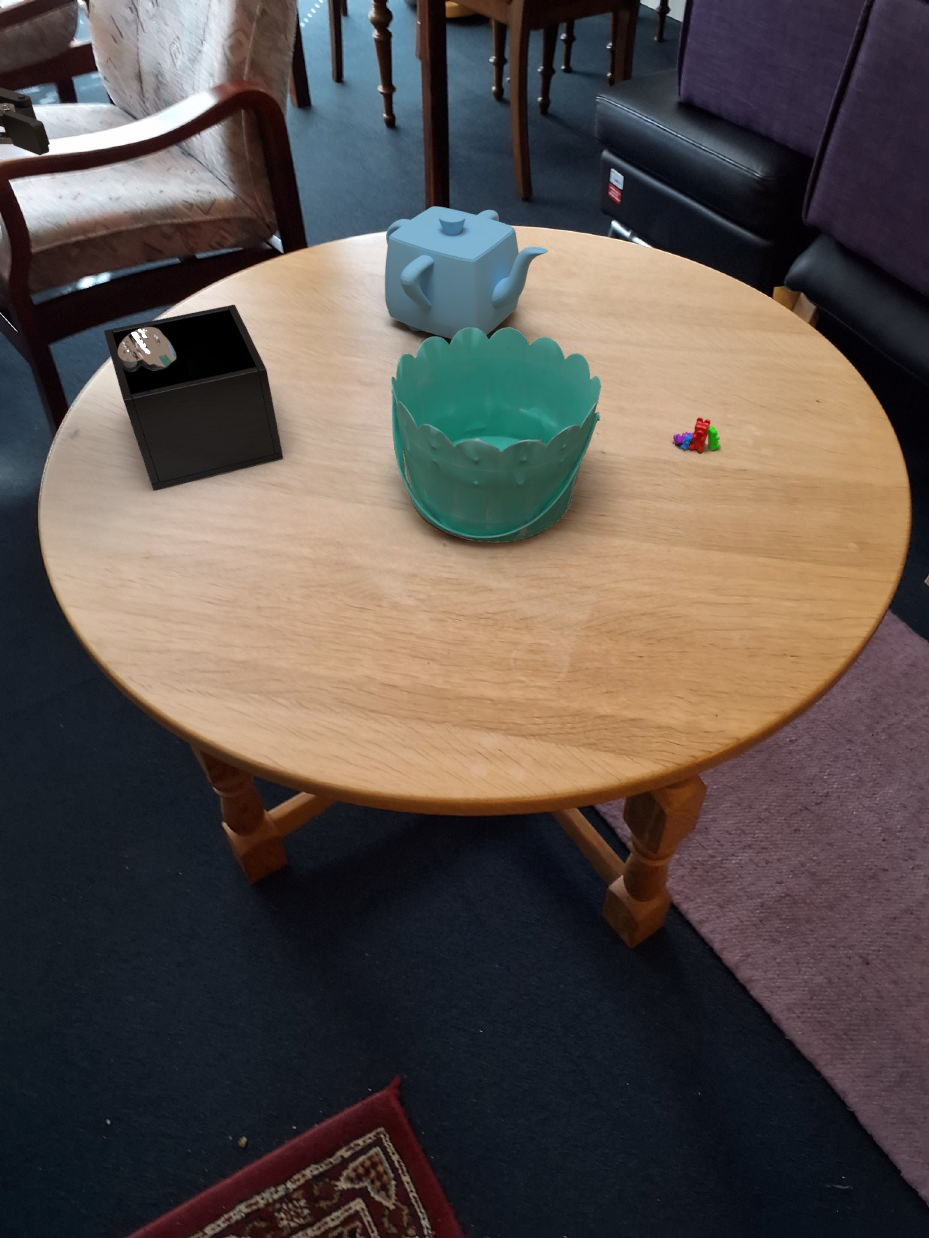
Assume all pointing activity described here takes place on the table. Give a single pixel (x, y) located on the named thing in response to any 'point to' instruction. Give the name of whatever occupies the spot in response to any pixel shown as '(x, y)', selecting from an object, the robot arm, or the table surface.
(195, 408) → the waste bin
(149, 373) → the wineglass
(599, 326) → the table surface
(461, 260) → the teapot
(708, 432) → the gummy bear
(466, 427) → the basket
